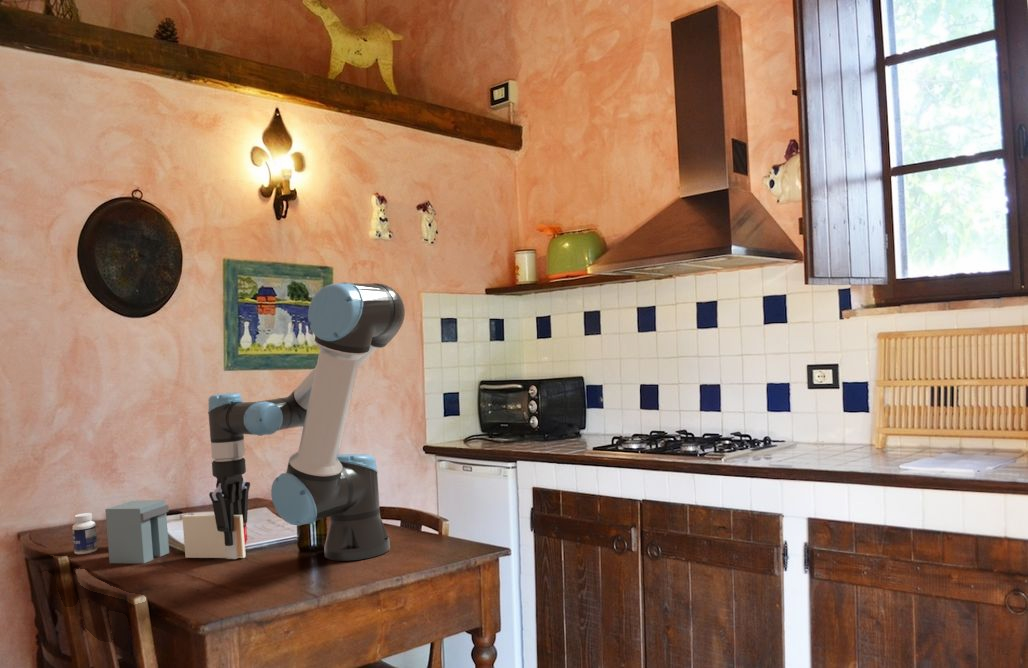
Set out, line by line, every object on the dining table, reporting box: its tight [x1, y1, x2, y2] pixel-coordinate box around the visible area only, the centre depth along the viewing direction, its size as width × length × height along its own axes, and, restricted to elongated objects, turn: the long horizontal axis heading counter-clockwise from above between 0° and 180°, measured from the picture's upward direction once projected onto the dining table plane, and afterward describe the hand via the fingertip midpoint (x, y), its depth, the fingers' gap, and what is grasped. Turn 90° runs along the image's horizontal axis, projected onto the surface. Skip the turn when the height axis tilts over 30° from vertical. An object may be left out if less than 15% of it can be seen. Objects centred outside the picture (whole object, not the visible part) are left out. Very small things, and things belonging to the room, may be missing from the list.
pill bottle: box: [72, 512, 98, 555], centre depth 214 cm, size 5×5×10 cm
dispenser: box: [104, 500, 170, 564], centre depth 203 cm, size 11×9×13 cm
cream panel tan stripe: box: [181, 514, 246, 559], centre depth 198 cm, size 16×1×10 cm, turn 74°
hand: (234, 557), depth 196 cm, fingers closed on cream panel tan stripe
